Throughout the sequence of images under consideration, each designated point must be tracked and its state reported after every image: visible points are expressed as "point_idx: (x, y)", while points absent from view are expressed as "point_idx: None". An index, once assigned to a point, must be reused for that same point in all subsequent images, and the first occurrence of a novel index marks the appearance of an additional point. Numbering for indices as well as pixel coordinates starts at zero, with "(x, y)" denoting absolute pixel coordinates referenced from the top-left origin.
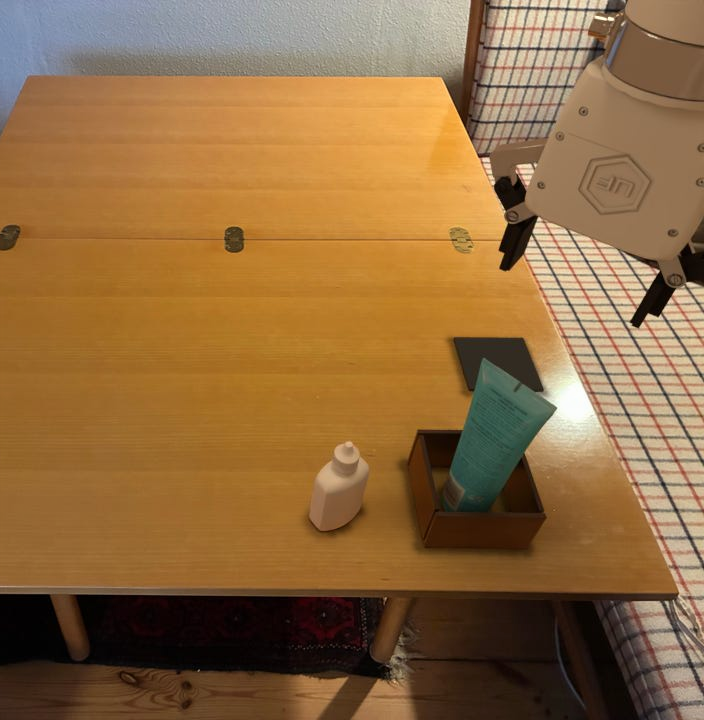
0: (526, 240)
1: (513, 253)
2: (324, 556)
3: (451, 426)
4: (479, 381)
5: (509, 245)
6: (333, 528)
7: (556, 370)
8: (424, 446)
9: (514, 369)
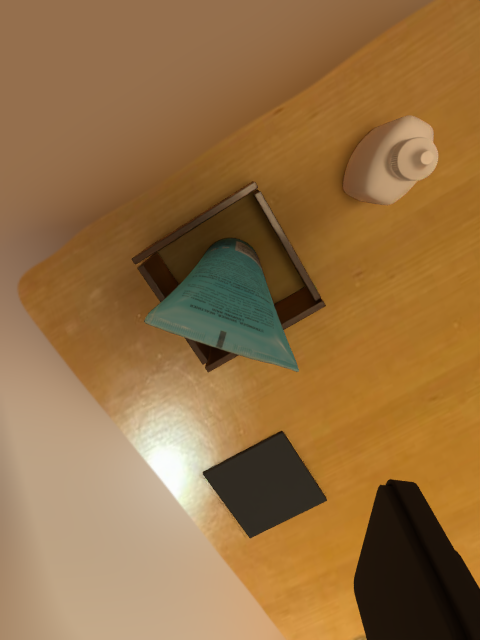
0: (383, 628)
1: (413, 540)
2: (357, 97)
3: (283, 368)
4: (284, 340)
5: (453, 563)
6: (363, 138)
7: (199, 509)
8: (307, 283)
9: (243, 486)
